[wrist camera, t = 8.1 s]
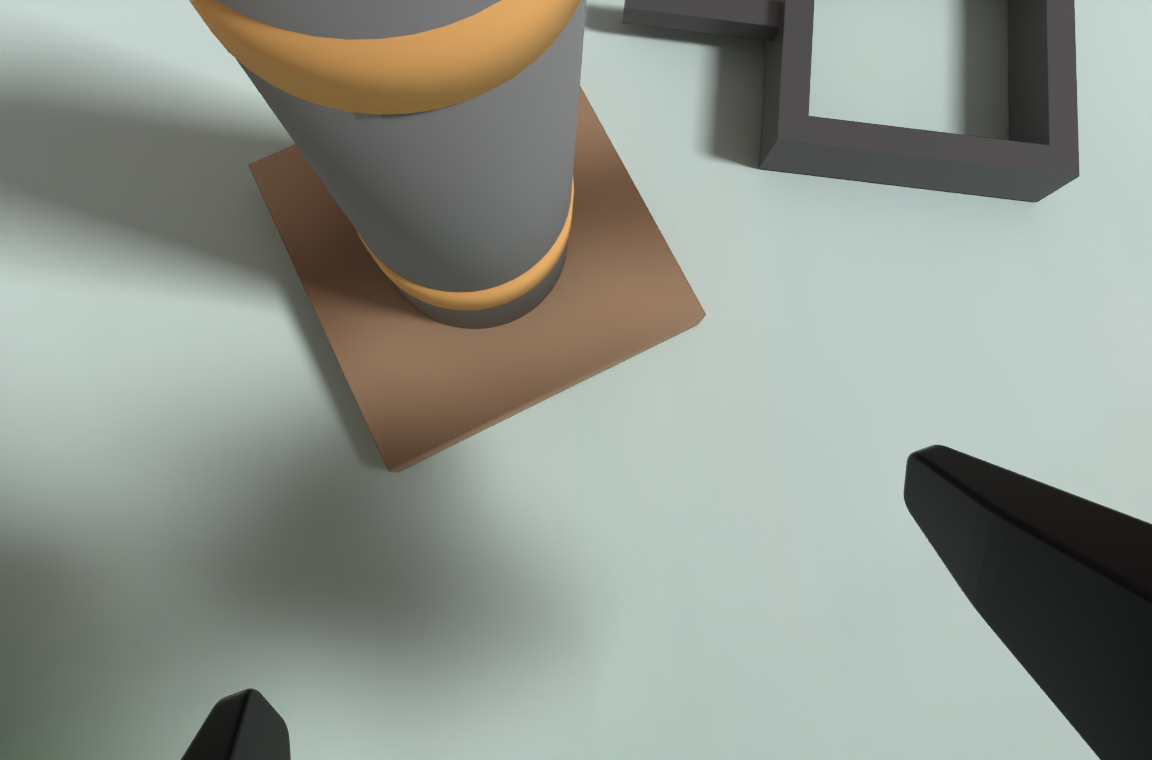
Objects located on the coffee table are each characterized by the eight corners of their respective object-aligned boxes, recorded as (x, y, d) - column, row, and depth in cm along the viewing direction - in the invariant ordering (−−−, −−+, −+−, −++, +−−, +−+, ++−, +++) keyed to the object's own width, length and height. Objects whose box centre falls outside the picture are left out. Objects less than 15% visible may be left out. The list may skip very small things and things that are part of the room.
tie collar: (1037, 202, 20) (1079, 176, 18) (607, 150, 20) (613, 119, 18) (1033, -42, 21) (1071, -85, 20) (634, -93, 21) (641, -141, 19)
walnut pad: (698, 324, 19) (706, 314, 18) (397, 472, 18) (388, 470, 17) (552, 58, 20) (552, 35, 19) (263, 182, 19) (248, 165, 18)
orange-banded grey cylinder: (606, 227, 18) (749, -434, 5) (489, 368, 17) (321, -11, 4) (464, 120, 18) (276, -741, 6) (342, 253, 18) (-196, -400, 5)
